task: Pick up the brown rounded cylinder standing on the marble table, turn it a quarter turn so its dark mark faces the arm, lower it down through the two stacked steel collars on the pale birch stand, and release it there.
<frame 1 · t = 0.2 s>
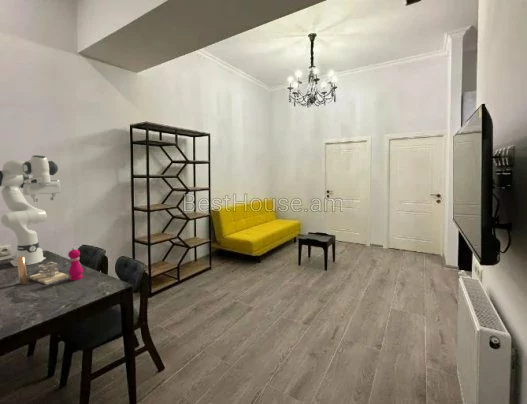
hand: (44, 200, 177), 47 cm above the table, fingers open, 8 cm apart
pepper mill: (76, 278, 166), on the table
brown rounded cylinder: (23, 282, 160), on the table
collar stand: (49, 277, 168), on the table
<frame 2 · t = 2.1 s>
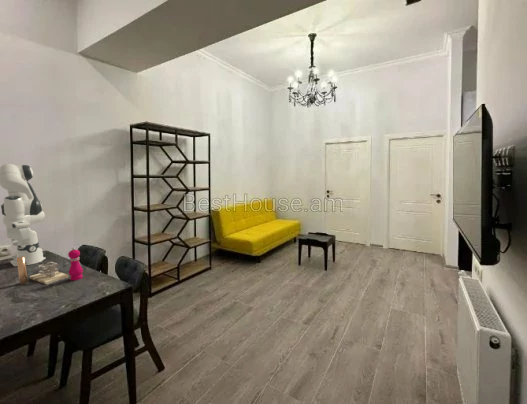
hand: (19, 246, 158), 23 cm above the table, fingers open, 8 cm apart
nothing on the table moved.
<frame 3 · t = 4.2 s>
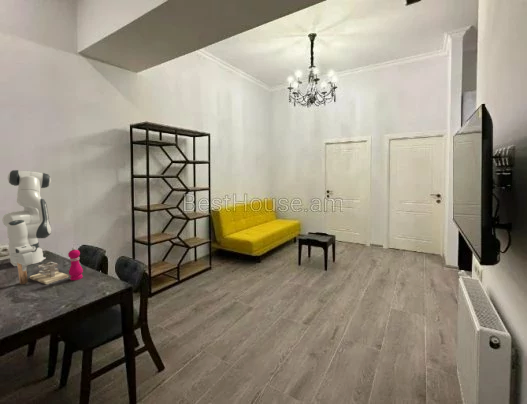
hand: (22, 270, 159), 8 cm above the table, fingers closed on brown rounded cylinder, 4 cm apart
brown rounded cylinder: (23, 282, 160), on the table, touching gripper
everything else where it was.
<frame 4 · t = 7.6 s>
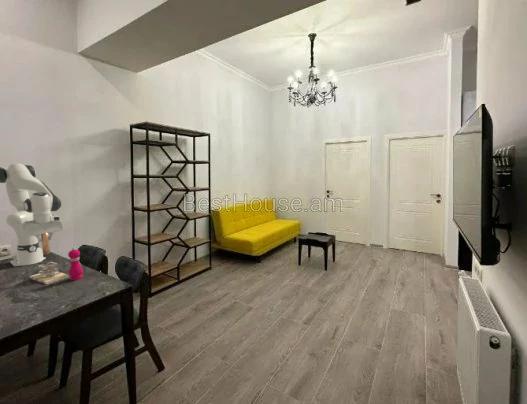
hand: (45, 240, 165), 24 cm above the table, fingers closed on brown rounded cylinder, 4 cm apart
brown rounded cylinder: (46, 253, 166), point 16 cm above the table, touching gripper
everything else where it was.
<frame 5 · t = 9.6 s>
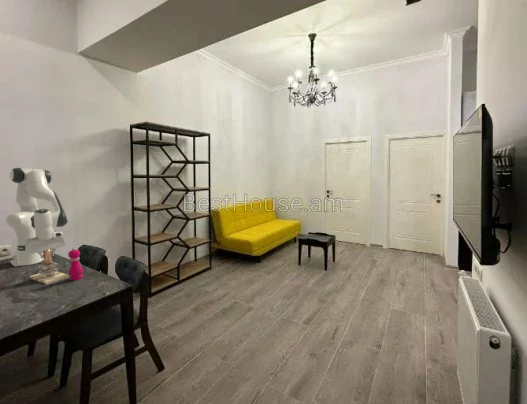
hand: (47, 256, 166), 14 cm above the table, fingers closed on brown rounded cylinder, 4 cm apart
brown rounded cylinder: (49, 269, 167), point 6 cm above the table, touching gripper
everything else where it was.
when the fingers open (11 cm above the table, at t = 11.1 s): brown rounded cylinder drops 1 cm, resting on collar stand.
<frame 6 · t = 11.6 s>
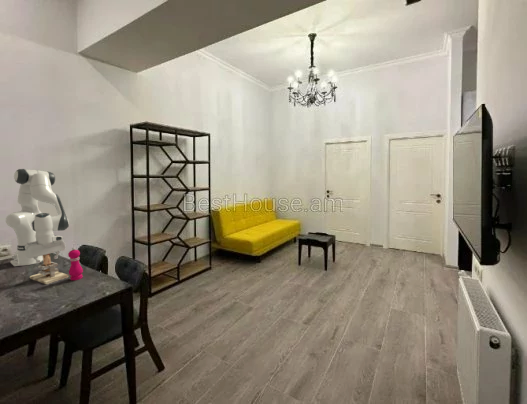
hand: (47, 260, 166), 11 cm above the table, fingers open, 8 cm apart
brown rounded cylinder: (49, 275, 168), point 2 cm above the table, touching collar stand
everything else where it was.
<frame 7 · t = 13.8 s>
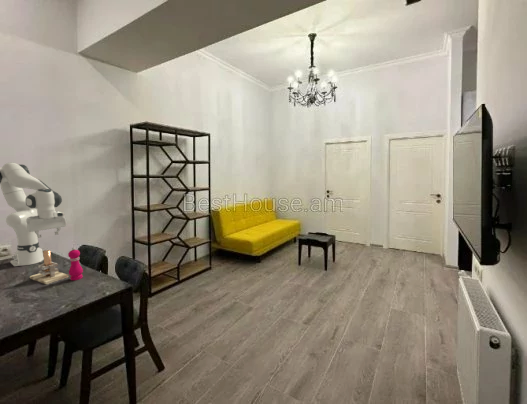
hand: (48, 236, 169), 26 cm above the table, fingers open, 8 cm apart
nothing on the table moved.
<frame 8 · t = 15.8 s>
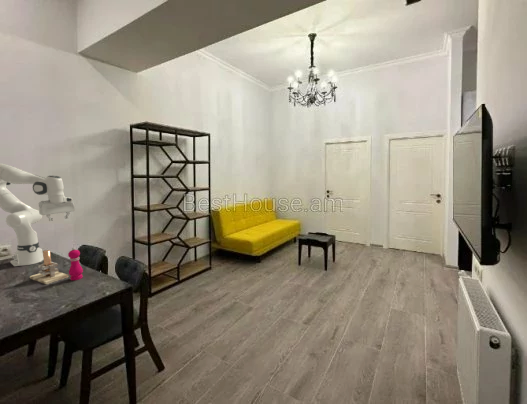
hand: (58, 219, 181), 34 cm above the table, fingers open, 8 cm apart
nothing on the table moved.
at the end: brown rounded cylinder 0.1 cm off-centre on the collar stand, point 1.5 cm above the collar stand's base; brown rounded cylinder tilted 0°; the gripper is holding nothing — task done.
